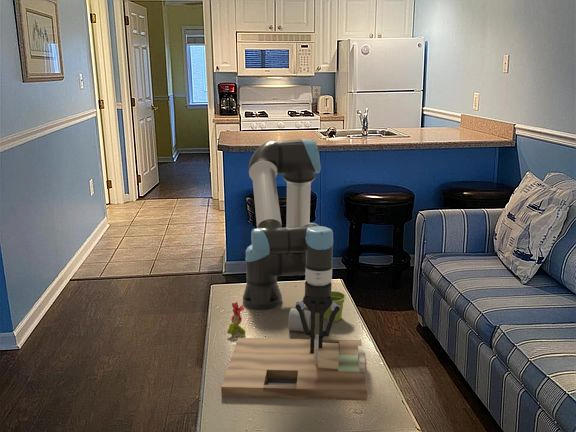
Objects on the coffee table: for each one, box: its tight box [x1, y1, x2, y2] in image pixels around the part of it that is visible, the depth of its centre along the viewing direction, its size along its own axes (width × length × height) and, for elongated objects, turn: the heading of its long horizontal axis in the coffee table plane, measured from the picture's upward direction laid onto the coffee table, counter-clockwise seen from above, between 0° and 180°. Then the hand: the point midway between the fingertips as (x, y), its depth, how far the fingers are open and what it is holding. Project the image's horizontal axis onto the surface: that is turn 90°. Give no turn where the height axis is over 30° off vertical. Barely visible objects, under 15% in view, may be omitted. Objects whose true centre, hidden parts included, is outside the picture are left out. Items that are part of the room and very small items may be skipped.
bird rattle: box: [226, 301, 246, 336], centre depth 190 cm, size 6×11×9 cm
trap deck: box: [220, 337, 368, 401], centre depth 164 cm, size 29×40×6 cm
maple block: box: [317, 343, 339, 369], centre depth 162 cm, size 6×6×5 cm
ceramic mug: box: [287, 307, 311, 333], centre depth 191 cm, size 11×8×8 cm
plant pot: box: [324, 290, 347, 323], centre depth 199 cm, size 9×9×9 cm
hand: (316, 357), depth 163 cm, fingers closed
